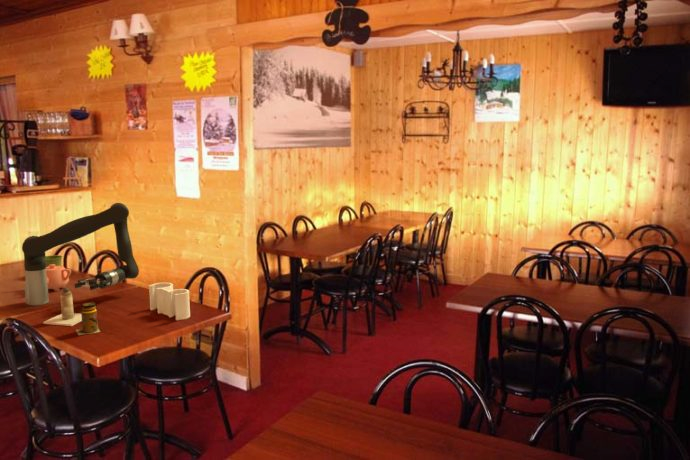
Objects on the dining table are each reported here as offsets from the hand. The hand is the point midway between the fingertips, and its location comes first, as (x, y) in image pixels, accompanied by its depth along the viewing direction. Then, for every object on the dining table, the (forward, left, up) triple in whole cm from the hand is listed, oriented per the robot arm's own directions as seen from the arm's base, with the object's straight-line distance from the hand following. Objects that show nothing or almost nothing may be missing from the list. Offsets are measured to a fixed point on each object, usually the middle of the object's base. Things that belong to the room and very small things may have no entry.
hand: (82, 286), depth 264 cm
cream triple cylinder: (+39, +9, -13) cm, 42 cm away
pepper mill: (-1, -11, -12) cm, 16 cm away
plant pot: (-62, +56, -13) cm, 84 cm away
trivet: (-1, -11, -12) cm, 17 cm away
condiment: (+17, -22, -13) cm, 31 cm away
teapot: (-43, +31, -13) cm, 54 cm away
